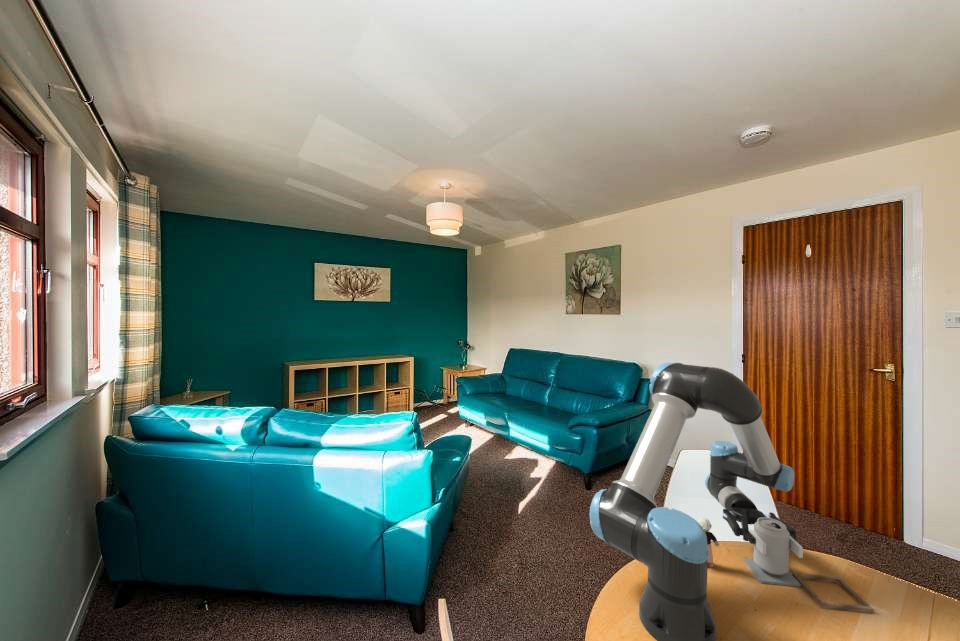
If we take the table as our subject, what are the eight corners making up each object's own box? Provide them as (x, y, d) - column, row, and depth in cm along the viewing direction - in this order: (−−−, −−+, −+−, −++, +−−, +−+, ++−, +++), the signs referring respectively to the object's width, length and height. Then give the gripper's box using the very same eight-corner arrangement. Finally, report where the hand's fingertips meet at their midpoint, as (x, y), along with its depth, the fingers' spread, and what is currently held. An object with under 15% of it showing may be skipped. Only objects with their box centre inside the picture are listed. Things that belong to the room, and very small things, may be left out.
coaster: (761, 583, 98) (761, 580, 98) (743, 560, 107) (743, 557, 107) (801, 586, 97) (801, 584, 97) (779, 563, 106) (779, 561, 106)
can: (795, 579, 98) (796, 532, 97) (761, 575, 99) (762, 529, 99) (778, 560, 105) (780, 516, 105) (747, 556, 107) (748, 513, 106)
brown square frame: (821, 607, 90) (821, 603, 90) (792, 576, 101) (792, 572, 101) (873, 613, 89) (873, 609, 89) (838, 580, 99) (838, 576, 99)
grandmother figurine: (708, 557, 109) (709, 512, 108) (720, 566, 105) (721, 520, 104) (686, 562, 106) (686, 517, 106) (697, 571, 103) (698, 524, 102)
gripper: (773, 519, 118) (828, 569, 96) (701, 514, 121) (737, 561, 99) (774, 494, 118) (829, 540, 95) (701, 490, 121) (738, 532, 98)
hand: (782, 551), depth 97 cm, fingers closed on can, 7 cm apart
